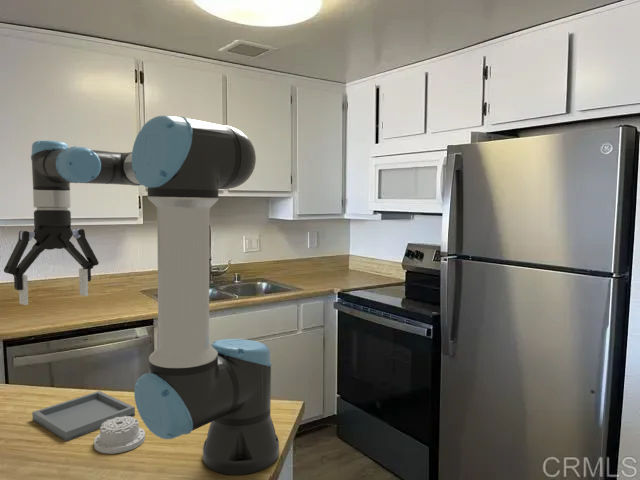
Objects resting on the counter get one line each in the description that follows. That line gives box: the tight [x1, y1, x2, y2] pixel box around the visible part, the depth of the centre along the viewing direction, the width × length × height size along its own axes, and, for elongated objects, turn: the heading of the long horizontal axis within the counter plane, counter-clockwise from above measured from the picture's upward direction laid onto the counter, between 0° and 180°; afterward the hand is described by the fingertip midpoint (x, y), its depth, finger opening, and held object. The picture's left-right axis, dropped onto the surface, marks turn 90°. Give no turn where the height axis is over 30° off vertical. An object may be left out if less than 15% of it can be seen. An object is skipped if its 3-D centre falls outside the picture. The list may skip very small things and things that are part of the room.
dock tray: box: [32, 390, 136, 442], centre depth 113 cm, size 16×16×2 cm
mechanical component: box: [93, 416, 146, 455], centre depth 102 cm, size 10×4×10 cm
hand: (55, 299), depth 114 cm, fingers open, 13 cm apart
